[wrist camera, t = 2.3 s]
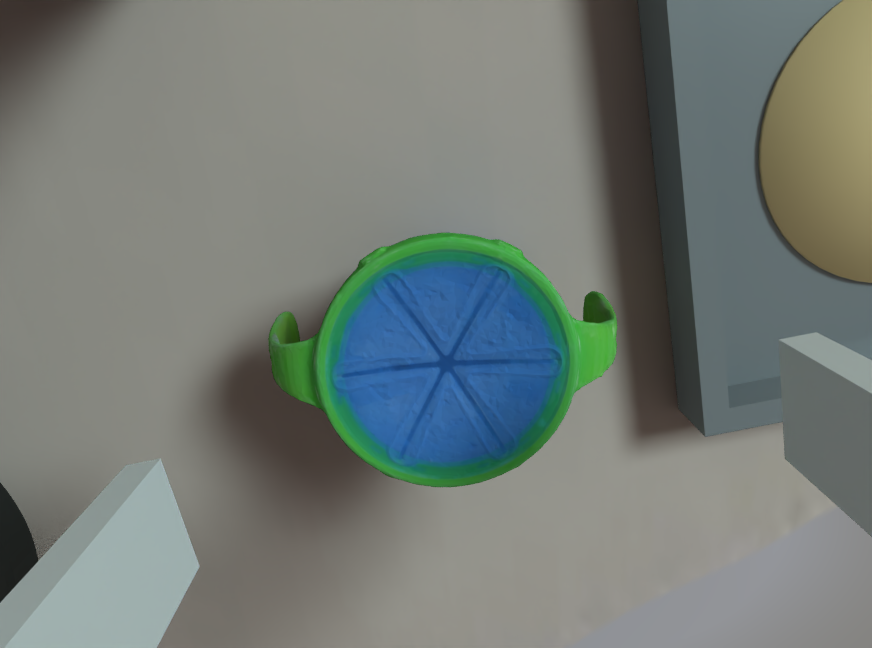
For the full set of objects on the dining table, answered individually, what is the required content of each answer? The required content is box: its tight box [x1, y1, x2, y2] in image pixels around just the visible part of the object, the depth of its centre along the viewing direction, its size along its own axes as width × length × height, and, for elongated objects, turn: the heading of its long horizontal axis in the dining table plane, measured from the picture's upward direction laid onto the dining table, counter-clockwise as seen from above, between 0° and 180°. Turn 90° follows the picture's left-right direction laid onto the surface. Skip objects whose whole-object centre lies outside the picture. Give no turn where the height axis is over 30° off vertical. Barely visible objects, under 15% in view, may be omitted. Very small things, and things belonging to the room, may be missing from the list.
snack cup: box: [268, 233, 617, 487], centre depth 22 cm, size 11×8×7 cm
